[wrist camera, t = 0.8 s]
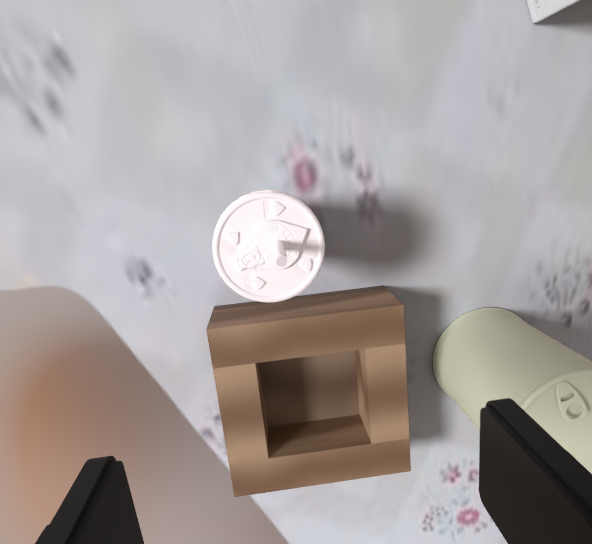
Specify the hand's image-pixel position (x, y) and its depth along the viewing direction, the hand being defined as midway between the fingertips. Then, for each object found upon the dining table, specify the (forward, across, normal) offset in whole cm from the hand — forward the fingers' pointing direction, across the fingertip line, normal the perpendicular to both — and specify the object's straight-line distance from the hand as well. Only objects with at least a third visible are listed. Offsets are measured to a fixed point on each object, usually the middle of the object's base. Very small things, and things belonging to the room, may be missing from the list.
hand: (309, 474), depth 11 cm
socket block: (+23, -2, +10) cm, 25 cm away
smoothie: (+24, 0, -3) cm, 24 cm away
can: (+23, -17, +11) cm, 31 cm away
